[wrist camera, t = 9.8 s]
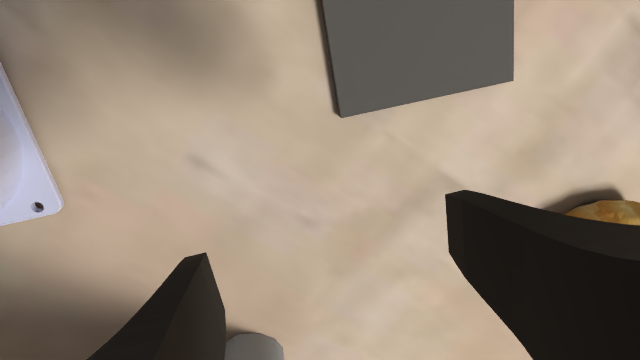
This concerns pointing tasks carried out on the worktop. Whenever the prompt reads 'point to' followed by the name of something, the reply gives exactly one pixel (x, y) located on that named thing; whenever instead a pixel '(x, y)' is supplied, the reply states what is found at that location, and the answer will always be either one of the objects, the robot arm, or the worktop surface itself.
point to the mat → (415, 49)
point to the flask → (253, 348)
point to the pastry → (609, 211)
